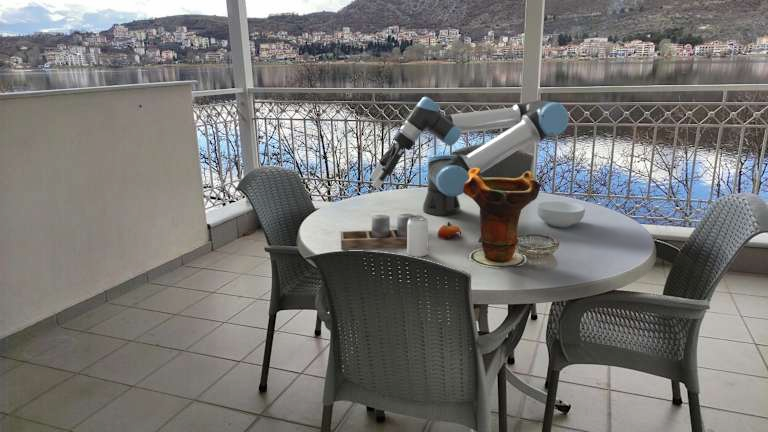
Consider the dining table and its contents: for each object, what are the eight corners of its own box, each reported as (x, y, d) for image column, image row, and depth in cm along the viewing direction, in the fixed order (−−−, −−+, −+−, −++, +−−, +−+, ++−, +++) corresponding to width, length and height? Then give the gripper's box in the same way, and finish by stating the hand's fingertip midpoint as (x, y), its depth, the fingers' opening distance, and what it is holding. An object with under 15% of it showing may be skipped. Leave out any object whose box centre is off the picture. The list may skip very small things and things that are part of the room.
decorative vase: (549, 267, 155) (552, 174, 147) (472, 274, 153) (471, 180, 145) (525, 244, 175) (527, 160, 167) (456, 250, 173) (455, 166, 165)
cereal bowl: (590, 223, 198) (592, 205, 196) (571, 234, 186) (573, 214, 184) (548, 215, 209) (549, 198, 207) (527, 224, 197) (529, 206, 196)
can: (413, 258, 163) (414, 221, 160) (403, 252, 169) (403, 216, 165) (431, 255, 166) (432, 218, 163) (420, 249, 171) (421, 213, 168)
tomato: (464, 229, 187) (459, 218, 181) (462, 246, 183) (458, 236, 177) (442, 230, 189) (437, 220, 184) (440, 247, 186) (435, 237, 180)
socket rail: (417, 236, 184) (417, 212, 181) (422, 245, 175) (422, 219, 172) (340, 239, 181) (340, 214, 178) (341, 248, 172) (340, 222, 169)
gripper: (394, 126, 203) (363, 170, 207) (403, 134, 180) (367, 184, 183) (410, 137, 205) (378, 181, 209) (421, 147, 181) (385, 196, 185)
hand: (373, 183), depth 196 cm, fingers open, 13 cm apart
